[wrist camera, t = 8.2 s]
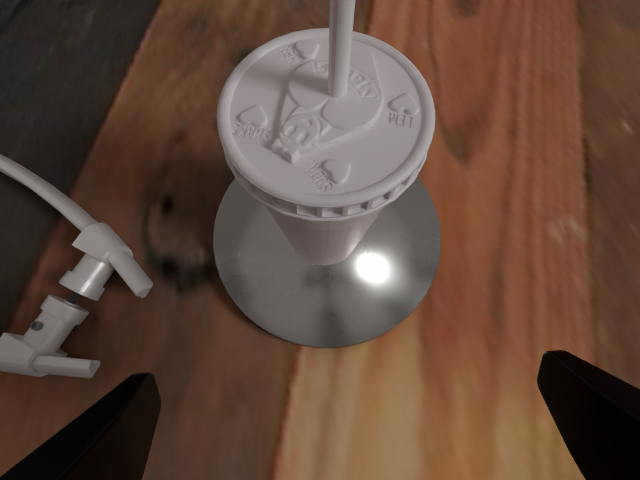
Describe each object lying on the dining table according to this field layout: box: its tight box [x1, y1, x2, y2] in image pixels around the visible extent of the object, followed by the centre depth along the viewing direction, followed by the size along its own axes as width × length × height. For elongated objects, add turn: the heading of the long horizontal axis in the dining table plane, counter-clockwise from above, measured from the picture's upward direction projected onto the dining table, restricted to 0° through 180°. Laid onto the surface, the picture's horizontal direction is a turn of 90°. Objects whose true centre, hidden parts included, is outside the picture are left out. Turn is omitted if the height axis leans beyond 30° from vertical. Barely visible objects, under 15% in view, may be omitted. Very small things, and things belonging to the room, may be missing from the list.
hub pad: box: [213, 177, 441, 348], centre depth 20 cm, size 12×12×1 cm
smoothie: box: [217, 0, 435, 265], centre depth 13 cm, size 6×6×14 cm
